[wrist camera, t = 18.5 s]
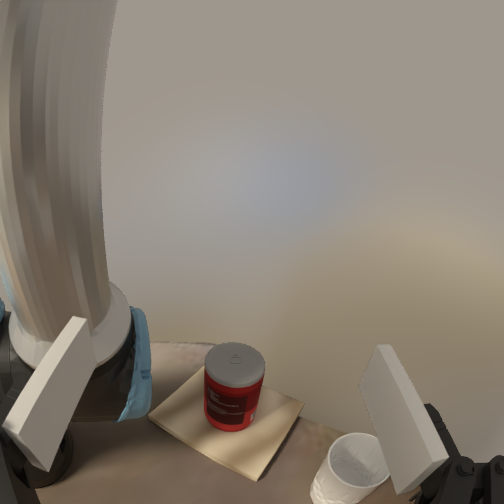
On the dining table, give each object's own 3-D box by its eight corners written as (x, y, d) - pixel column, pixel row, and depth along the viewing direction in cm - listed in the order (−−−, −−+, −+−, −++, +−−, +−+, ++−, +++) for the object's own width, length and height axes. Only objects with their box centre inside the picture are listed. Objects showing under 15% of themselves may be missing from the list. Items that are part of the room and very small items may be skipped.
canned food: (244, 389, 46) (252, 338, 42) (263, 427, 39) (276, 377, 35) (197, 398, 43) (197, 345, 39) (212, 438, 36) (214, 389, 32)
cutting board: (149, 419, 38) (148, 414, 38) (209, 365, 52) (209, 360, 51) (256, 481, 31) (257, 478, 31) (303, 407, 44) (304, 403, 44)
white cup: (355, 466, 33) (383, 428, 30) (366, 511, 26) (401, 480, 22) (301, 471, 33) (322, 434, 29) (308, 519, 26) (334, 493, 22)
